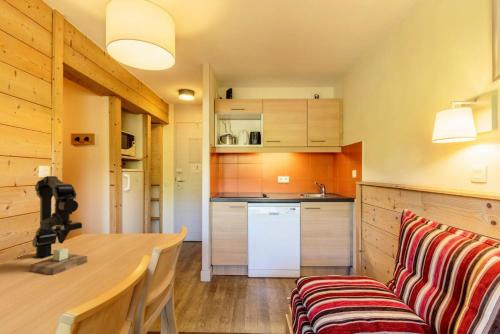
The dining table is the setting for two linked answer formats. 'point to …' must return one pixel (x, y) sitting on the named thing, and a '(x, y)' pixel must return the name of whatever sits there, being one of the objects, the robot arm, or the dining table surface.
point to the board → (58, 264)
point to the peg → (60, 255)
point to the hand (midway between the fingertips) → (61, 243)
